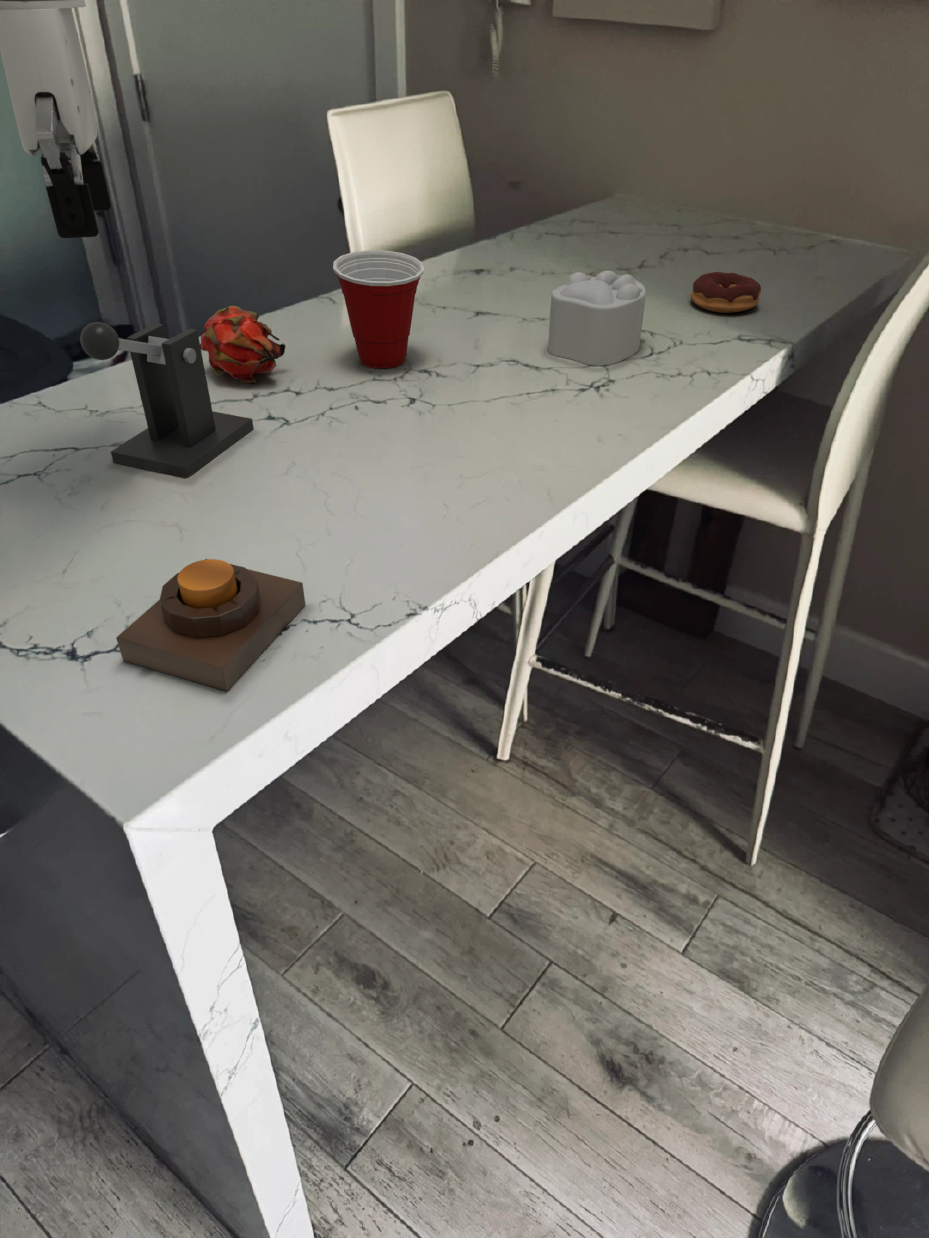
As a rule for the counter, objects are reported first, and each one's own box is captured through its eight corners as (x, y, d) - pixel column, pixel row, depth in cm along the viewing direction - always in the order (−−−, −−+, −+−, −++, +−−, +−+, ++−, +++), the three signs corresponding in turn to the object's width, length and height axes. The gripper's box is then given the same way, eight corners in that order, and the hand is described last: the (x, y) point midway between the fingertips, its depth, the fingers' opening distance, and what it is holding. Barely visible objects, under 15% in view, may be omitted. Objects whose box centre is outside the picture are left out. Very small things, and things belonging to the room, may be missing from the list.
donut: (696, 291, 133) (700, 264, 130) (762, 299, 130) (768, 271, 127) (682, 311, 125) (686, 283, 123) (752, 320, 122) (757, 291, 120)
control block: (227, 691, 61) (217, 647, 59) (122, 660, 64) (109, 617, 61) (305, 604, 69) (300, 563, 67) (210, 580, 72) (201, 539, 70)
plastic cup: (372, 385, 104) (365, 282, 97) (324, 358, 111) (314, 260, 103) (444, 363, 109) (443, 264, 102) (394, 339, 116) (389, 244, 109)
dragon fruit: (223, 369, 112) (279, 410, 106) (169, 346, 104) (227, 389, 99) (253, 309, 110) (311, 347, 104) (201, 281, 103) (261, 321, 97)
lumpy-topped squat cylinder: (537, 350, 113) (541, 281, 108) (591, 324, 121) (596, 258, 116) (606, 370, 108) (613, 299, 103) (657, 340, 116) (666, 273, 111)
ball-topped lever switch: (100, 360, 75) (102, 322, 75) (71, 355, 76) (72, 317, 76) (187, 372, 87) (190, 338, 86) (160, 367, 88) (163, 334, 87)
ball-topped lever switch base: (187, 478, 86) (162, 362, 79) (112, 462, 88) (82, 348, 81) (253, 428, 95) (236, 320, 87) (184, 415, 97) (162, 308, 90)
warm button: (217, 614, 62) (212, 595, 61) (170, 602, 64) (165, 582, 62) (247, 584, 65) (244, 565, 64) (202, 573, 66) (198, 554, 65)
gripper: (0, -18, 73) (57, 203, 84) (-52, -12, 60) (24, 251, 70) (94, -18, 74) (139, 199, 85) (64, -12, 61) (121, 246, 71)
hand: (87, 222), depth 77 cm, fingers open, 9 cm apart
